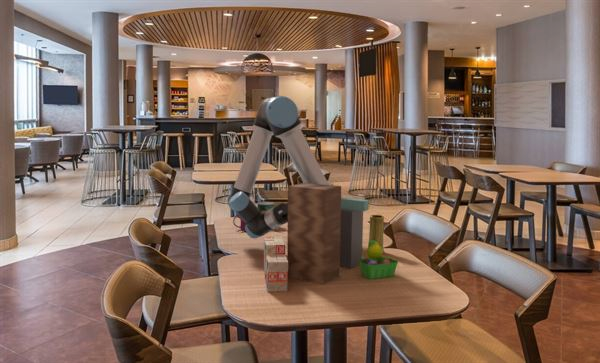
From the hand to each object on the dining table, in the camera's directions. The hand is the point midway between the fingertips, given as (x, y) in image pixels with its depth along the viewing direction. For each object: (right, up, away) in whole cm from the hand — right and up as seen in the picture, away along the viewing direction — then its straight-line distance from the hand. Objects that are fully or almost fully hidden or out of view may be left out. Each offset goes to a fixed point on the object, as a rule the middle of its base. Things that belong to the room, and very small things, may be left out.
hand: (321, 192), depth 194 cm
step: (+7, -25, -1) cm, 26 cm away
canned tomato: (-24, -17, +62) cm, 68 cm away
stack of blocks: (-16, -28, -23) cm, 39 cm away
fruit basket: (+18, -28, -15) cm, 36 cm away
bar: (+4, -5, -2) cm, 7 cm away
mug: (-33, -19, +52) cm, 65 cm away
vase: (+22, -24, +14) cm, 35 cm away
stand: (-3, -27, -18) cm, 33 cm away
